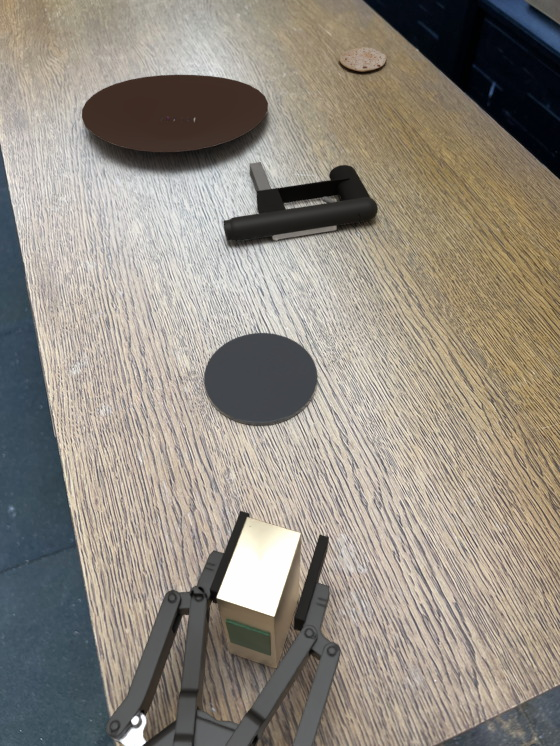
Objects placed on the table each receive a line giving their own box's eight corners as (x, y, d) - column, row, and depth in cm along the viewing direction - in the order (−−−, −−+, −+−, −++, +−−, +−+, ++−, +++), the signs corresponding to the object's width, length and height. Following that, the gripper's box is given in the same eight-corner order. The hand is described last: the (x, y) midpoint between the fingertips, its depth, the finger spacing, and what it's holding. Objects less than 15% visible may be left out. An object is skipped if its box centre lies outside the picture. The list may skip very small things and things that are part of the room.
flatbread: (351, 77, 108) (351, 71, 107) (332, 56, 112) (332, 50, 111) (394, 67, 109) (395, 61, 109) (374, 47, 114) (374, 42, 113)
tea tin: (254, 582, 56) (247, 516, 45) (299, 597, 55) (301, 532, 45) (229, 655, 52) (214, 600, 42) (276, 671, 51) (273, 619, 41)
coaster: (181, 375, 69) (181, 372, 69) (266, 319, 74) (265, 316, 74) (254, 446, 64) (254, 443, 63) (340, 381, 69) (340, 378, 68)
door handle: (207, 164, 89) (227, 233, 78) (347, 144, 92) (384, 208, 81) (209, 185, 91) (229, 255, 81) (345, 165, 94) (382, 230, 84)
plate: (277, 78, 108) (277, 56, 105) (257, 180, 91) (256, 157, 88) (112, 71, 110) (107, 49, 107) (62, 169, 93) (55, 146, 90)
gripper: (38, 833, 42) (180, 518, 56) (315, 952, 38) (395, 584, 52) (-3, 826, 36) (167, 475, 50) (320, 966, 32) (409, 546, 46)
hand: (284, 531), depth 51 cm, fingers open, 6 cm apart
